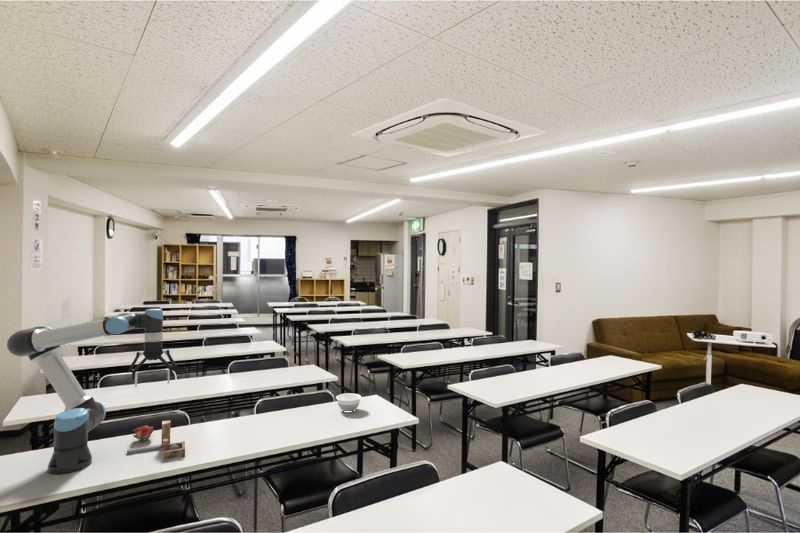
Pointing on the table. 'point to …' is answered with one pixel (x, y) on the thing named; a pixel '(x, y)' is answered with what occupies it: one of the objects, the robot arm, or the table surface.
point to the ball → (173, 447)
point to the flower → (143, 432)
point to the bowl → (348, 401)
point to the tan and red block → (165, 434)
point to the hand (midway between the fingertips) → (152, 384)
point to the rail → (144, 449)
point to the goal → (174, 451)
